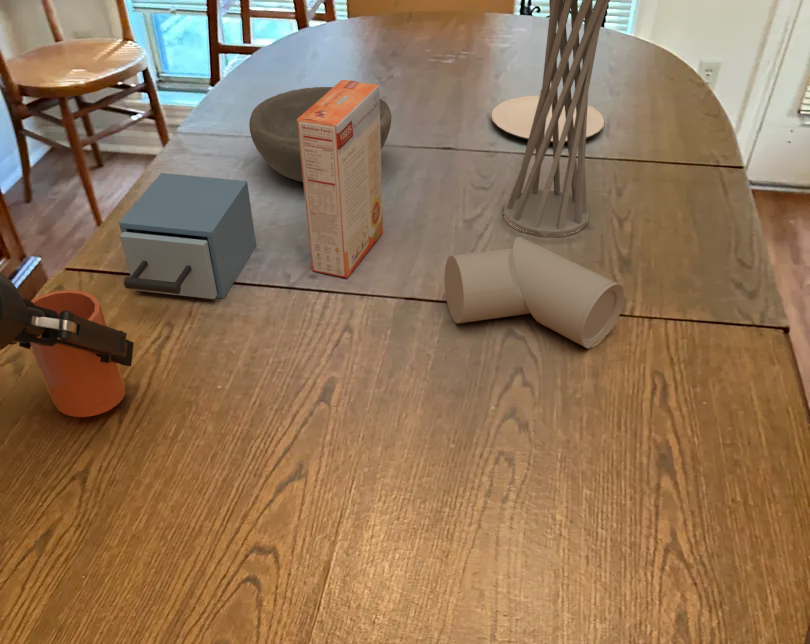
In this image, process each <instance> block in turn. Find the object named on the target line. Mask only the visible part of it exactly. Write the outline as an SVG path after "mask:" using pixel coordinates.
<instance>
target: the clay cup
mask: <svg viewBox="0 0 810 644" xmlns="http://www.w3.org/2000/svg"><path fill="white" fill-rule="evenodd" d="M30 301H31V302H33V303H34V305H36V306H39V307H43V308H46V309H50V310H53V311H56V312H57V313H58V316H59V314H60V313H61V311H70V312H71V313H73V314H75V315H77V316H79V317H81V318H84V319H87V320H90V321H92V322H95V323H98V324H101V325H104V326H107V323H106V319H105V316H104V313H103V310H102V307H101V304H100V302H99V301H98V299H97V298H96V297H95V296H94V295H93V294H90V293H88V292H85V291H83V290H75V289H74V290H73V289H66V290H55V291H52V292H48V293H45V294H41V295H39V296H37V297H35V298H34V299H32V300H30ZM107 327H108V326H107ZM41 336H42V334H41V335H40V336H39V337H37V338H41ZM29 346H30V348H31V352H32V355H33V357H34V360H35V363H36V365H37V368H38V370H39V372H40V375H41V377H42V380H43V382H44V385H45V387H46V389H47V393H48V394H49V396H50V399H51V400H52V403H53V405H54V407H55V408H56V410H58V411H59V412H60V413H62V414H64V415H66V416H70V417H74V418H75V417H76V418H88V417H94V416H98V415H101V414H104V413H106V412H108V411H110V410H112V409H113V408H115V407H116V406H118V405H119V404H120V403H121V402H122V400H123V399H124V397H125V395H126V385H125V379H124V376H123V373H122V370H121V367H120V364H119V363H116V362H113V361H110V363H103V362H100V360H101V357H98V356H96V353H92V352H88V351H84V350H80V349H76V348H72V347H68V346H64V345H59V344H55V345H54V346H42V345H38V344H34V343H29Z"/></svg>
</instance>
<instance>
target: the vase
mask: <svg viewBox="0 0 810 644" xmlns="http://www.w3.org/2000/svg"><path fill="white" fill-rule="evenodd" d="M578 1H579V0H548V2H549V5H548V6H549V18H548V27H547V36H546V46H545V47H546V48H545V56H544V65H543V66H544V67H543V76H542V86H541V90H540V94H539V96H540V98H539V101H538V105H537V109H536V113H535V117H534V120H533V124H532V128H531V132H530V136H529V139H528V140H527V143H526V148H525V151H524V155H523V159H522V163H521V166H520V170H519V172H518V176H517V178H516V181H515V183H514V186H513V188H512V192H511V193H510V197H509V199H507V200H506V201H505V202H504V204H503V211H502V218H503V220H505V222H506V224H507V225H508V226H509V227H511V228H513V229H515V230H516V231H518V232H520V233H523V234H527V235H531V236H537V237H541V238H547V239H548V238H565V237H568V236H573V235H576V234H579V233H580V232H581V231H582V230H583V229H584V228H586V227H587V226H588V225H589V223H590V222H589V221H590V220H589V219H590V218H589V215H590V210H591V209H590V207H589V206H587V205H588V204H587V187H586V186H587V185H586V183H587V182H586V181H587V180H586V148H587V147H586V145H587V138H586V127H587V106H588V105H589V104H588V103H589V90H590V85H591V80H592V73H593V68H594V63H595V58H596V52H597V47H598V41H599V36H600V31H601V28H602V25H603V21H604V18H605V16H606V11H607V9H608V5H609V2H610V0H595V2H594V0H582V1H581V3H580V6H579V3H578ZM593 3H594V4H593ZM593 5H594V6H593ZM569 16H570V21H571V22H570V23H571V24H570V25H571V31H570V33H569V36H567V35H568V34H567V23H568V21H569ZM582 25H583V34H582V37H581V40H580V31H581V29H582V28H581V27H582ZM571 54H572V57H573V58H572V63H571V65H570V61H569V60H570V58H571ZM559 55H560V60H559V64H558V57H559ZM581 64H582V65H581ZM561 82H562V88H561V92H560V94H559V93H558V91H559V90H558V89H559V87H560V83H561ZM573 84H574V90H573V91H574V92H573V95H572V87H573ZM558 95H559V96H558ZM558 97H559V99H558ZM551 105H552V118H551V120H550V123H549V125H548V128H547V131H546V133H545V125H546V118H547V115H548V112H549V110H550V107H551ZM564 105H565V117H566V121H565V124H564V127H563V131H562V134H561V137H560V140H559V128H558V120H559V118H560V115H561V112H562V110H563V107H564ZM575 107H576V119H575V125H574V124H573V114H574V110H575ZM544 134H545V136H544ZM552 136H553V143H552V163H551V166H550V169H549V173H548V176H547V178H546V179H547V180H546V183H545V186H544V189H539V186H540V177H541V167H542V164H543V162H544V159H545V157H546V153H547V151H548V148H549V146H550V144H551V143H550V141H551V138H552ZM566 136H567V141H568V142H567V153H568V159H567V165H566V170H565V176H564V182H563V188H562V191H561V177H560V176H561V173H560V172H561V171H560V170H561V169H560V158H561V156H562V152H563V149H564V146H565V143H566V142H565V140H566ZM534 152H535V153H534ZM533 154H535V155H534V162H533V164H532V168H531V169H530V172H529V176H528V177H526V176H527V173H528V170H529V165H530V163H531V160H532V157H533ZM526 178H527V180H526ZM525 180H526V184H525ZM524 184H525V186H524ZM552 185H553V190H551V189H552ZM523 188H524V189H523ZM570 193H571V194H570ZM503 215H504V216H505V217H506V218H505V217H504V216H503ZM506 219H507V220H508V221H507V220H506ZM510 223H511V224H512V225H511V224H510ZM587 223H588V224H587ZM513 225H514V226H513ZM515 226H516V227H518V228H519V229H518V228H516V227H515ZM583 226H584V227H583ZM582 227H583V228H582ZM581 228H582V229H581ZM520 229H521V230H520ZM579 229H580V230H579ZM523 230H524V231H523ZM577 230H579V231H577ZM526 231H527V232H526ZM576 231H577V232H576ZM531 232H532V233H531ZM571 232H574V233H571ZM569 233H570V234H569ZM564 234H566V235H564Z"/></svg>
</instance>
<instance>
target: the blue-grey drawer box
mask: <svg viewBox="0 0 810 644" xmlns="http://www.w3.org/2000/svg"><path fill="white" fill-rule="evenodd" d="M118 225H119V229H120V232H121V234H122V233H123V232H130V233H134V231H133V229H134V230H144V231H153V232H163V233H173V234H182V235H192V236H201V237H207V238H208V243H209V249H210V254H211V259H212V265H213V270H214V275H215V280H216V290H217V296H216V298H215V299H222V300H223V299H225V298H226V297H227V295H228V293H229V292H230V290H231V288H232V287H233V285H234V283H235V282H236V280H237V278H238V277H239V275H240V273H241V271H242V270H243V268H244V267H245V265H246V263H247V262H248V260H249V259H250V256H251V255H252V253H253V251H255V248H256V247H257V241H256V234H255V233H256V232H255V227H254V219H253V213H252V206H251V198H250V191H249V184H248V181H247V180H241V179H240V180H239V179H230V178H220V177H209V176H200V175H199V176H197V175H187V174H176V173H169V172H168V173H166V172H165V173H164V172H161V173H160V174H159V175H158V176H157V177H156V178H155V180H153V182H152V183H151V184H150V185H149V187H147V189H146V190H145V191H144V192H143V193H142V195H141V196H140V197H139V198H138V199H137V201H135V203H134V204H133V205H132V207H130V208H129V210H128V211H127V212H126V213H125V214H124V215H123V217H122V218H121V219H120V220H119V221H118Z"/></svg>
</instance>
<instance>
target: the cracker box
mask: <svg viewBox="0 0 810 644" xmlns="http://www.w3.org/2000/svg"><path fill="white" fill-rule="evenodd" d="M332 87H333V88H332V89H331V90H330V91H328V92H327V93H326V94H325V95H324V96H323V97H322V98H321V99H319V100H318V101H317V102H316V103H315V104H314V105H313V106H311V107H310V108H309V109H308V110H307V111H306V112H304V113H303V114H302V115H301V116H300V117H299V118H298V119H297V127H298V136H299V146H300V155H301V165H302V175H303V182H302V183H303V193H304V203H305V211H306V221H307V222H306V223H307V231H308V240H309V251H310V260H311V269H312V272H316V273H321V274H325V275H331V276H335V277H340V278H344V279H348V278H349V277H350V276H351V274H352V273H353V272H354V270H355V269H356V268H357V266H358V265H359V264H360V262H361V261H362V260H363V259H364V257H365V256H366V255H367V254H368V253H369V251H370V250H371V249H372V248H373V246H374V245H375V244H376V242H377V241H378V240H379V239H380V237H381V236H382V234H383V232H384V222H383V182H382V181H383V179H382V149H381V136H380V99H381V98H380V85H379V84H375V83H367V82H360V81H355V80H350V79H349V80H348V79H340V81H338V82H337V83H336V84H335V85H334V86H332ZM379 98H380V99H379Z"/></svg>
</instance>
